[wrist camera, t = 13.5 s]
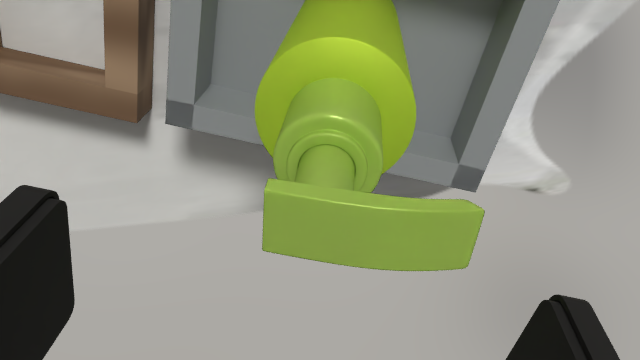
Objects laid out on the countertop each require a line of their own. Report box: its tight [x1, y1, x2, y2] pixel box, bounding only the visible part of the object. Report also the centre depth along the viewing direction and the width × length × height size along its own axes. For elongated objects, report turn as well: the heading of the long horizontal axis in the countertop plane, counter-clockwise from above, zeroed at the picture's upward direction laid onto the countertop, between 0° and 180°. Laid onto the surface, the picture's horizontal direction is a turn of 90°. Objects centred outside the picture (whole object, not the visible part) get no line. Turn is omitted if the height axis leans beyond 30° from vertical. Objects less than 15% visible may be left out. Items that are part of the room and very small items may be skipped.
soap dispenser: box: [255, 0, 485, 271], centre depth 21 cm, size 6×7×20 cm
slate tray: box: [165, 0, 560, 192], centre depth 28 cm, size 14×19×4 cm
